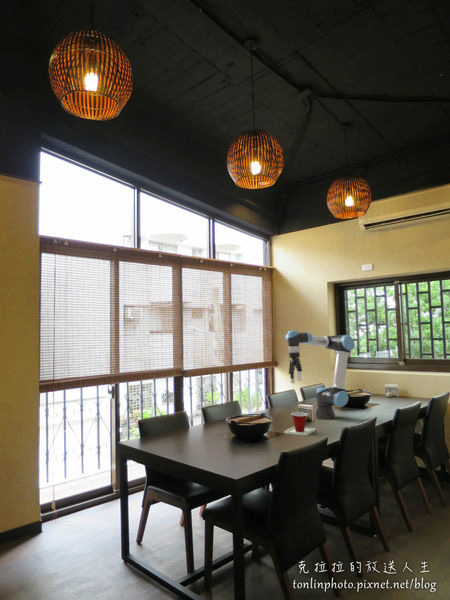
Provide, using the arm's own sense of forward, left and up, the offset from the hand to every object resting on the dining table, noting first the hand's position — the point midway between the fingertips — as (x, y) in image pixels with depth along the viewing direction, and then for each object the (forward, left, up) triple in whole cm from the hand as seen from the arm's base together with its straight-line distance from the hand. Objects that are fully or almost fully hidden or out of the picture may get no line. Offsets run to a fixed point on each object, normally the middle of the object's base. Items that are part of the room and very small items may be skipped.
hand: (296, 381), depth 303 cm
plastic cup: (+13, +6, -32) cm, 35 cm away
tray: (+13, +6, -32) cm, 35 cm away
